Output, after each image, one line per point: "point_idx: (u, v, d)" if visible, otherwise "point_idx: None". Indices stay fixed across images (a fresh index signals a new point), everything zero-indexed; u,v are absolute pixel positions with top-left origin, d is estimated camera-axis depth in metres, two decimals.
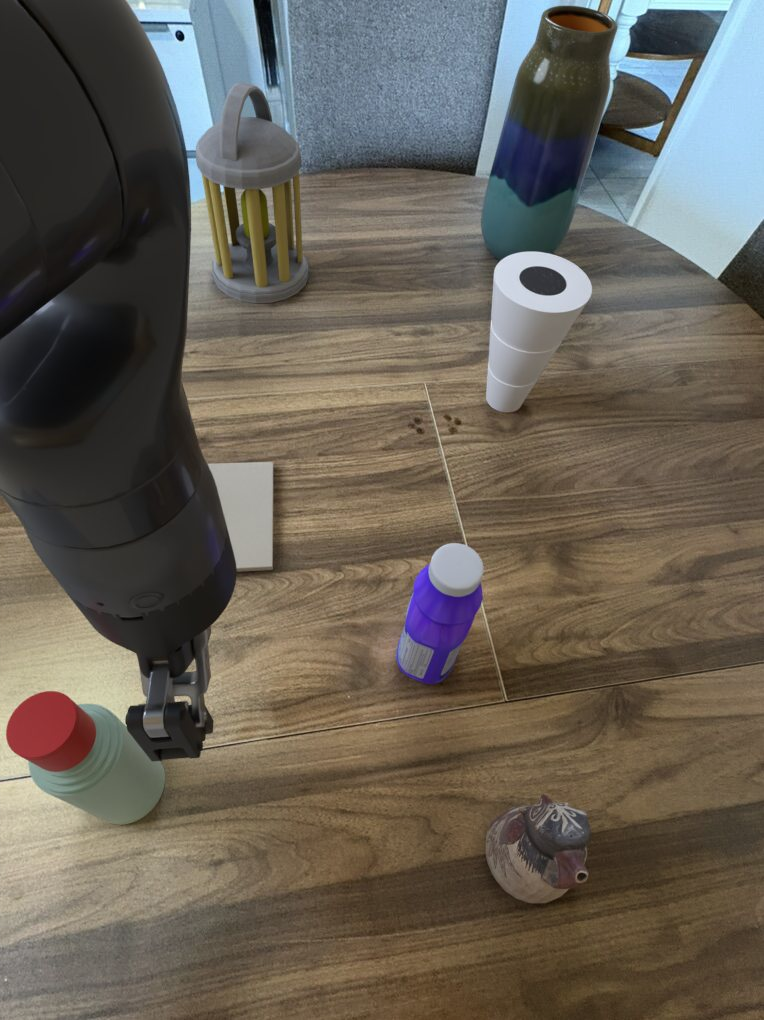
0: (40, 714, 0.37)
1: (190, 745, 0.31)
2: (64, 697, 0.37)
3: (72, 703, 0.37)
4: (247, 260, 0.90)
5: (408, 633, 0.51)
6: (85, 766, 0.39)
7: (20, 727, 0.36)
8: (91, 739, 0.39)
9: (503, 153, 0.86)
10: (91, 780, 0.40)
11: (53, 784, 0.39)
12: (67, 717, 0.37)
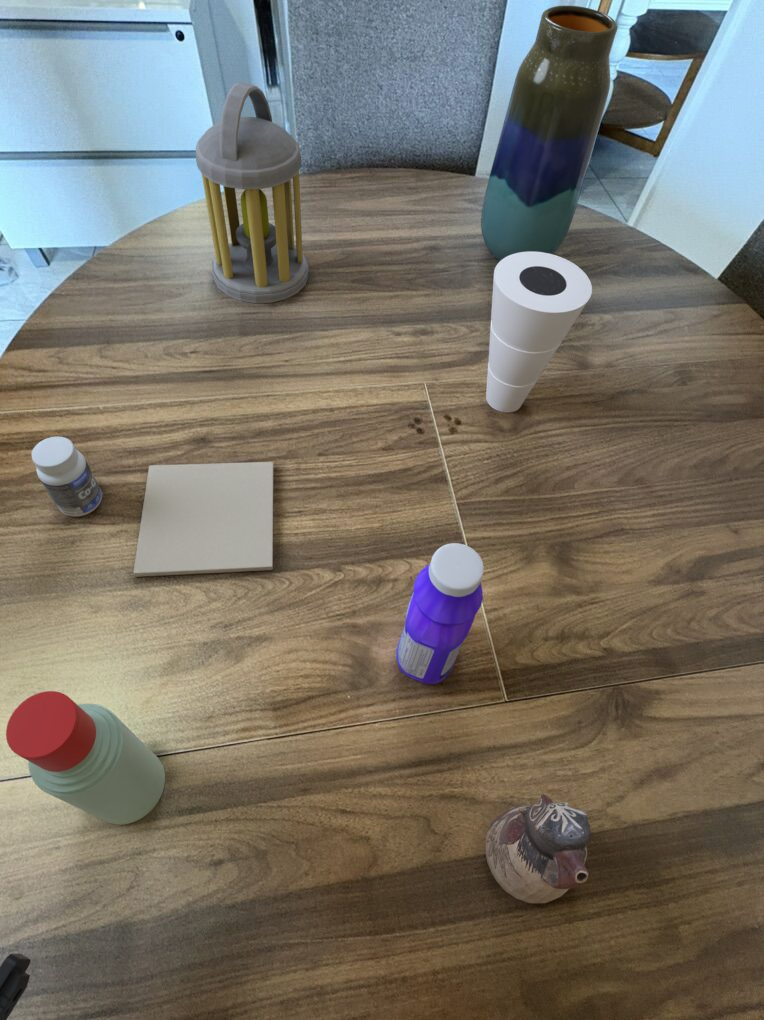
0: (40, 714, 0.37)
1: None
2: (64, 697, 0.37)
3: (72, 703, 0.37)
4: (247, 260, 0.90)
5: (408, 633, 0.51)
6: (85, 766, 0.39)
7: (20, 727, 0.36)
8: (91, 739, 0.39)
9: (503, 153, 0.85)
10: (91, 780, 0.40)
11: (53, 784, 0.39)
12: (67, 717, 0.37)
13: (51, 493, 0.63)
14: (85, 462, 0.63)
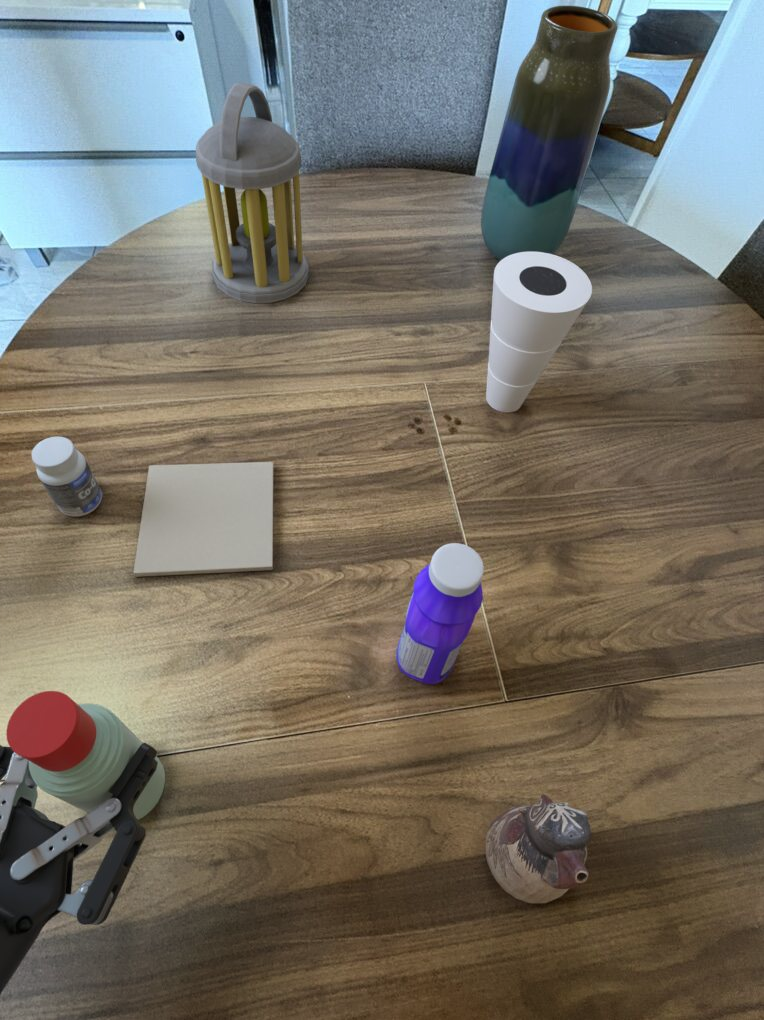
0: (40, 714, 0.37)
1: None
2: (64, 697, 0.37)
3: (72, 703, 0.37)
4: (247, 260, 0.90)
5: (408, 633, 0.51)
6: (86, 766, 0.39)
7: (20, 727, 0.36)
8: (92, 739, 0.39)
9: (503, 153, 0.85)
10: (92, 780, 0.40)
11: (53, 784, 0.39)
12: (67, 717, 0.37)
13: (51, 493, 0.63)
14: (85, 462, 0.63)
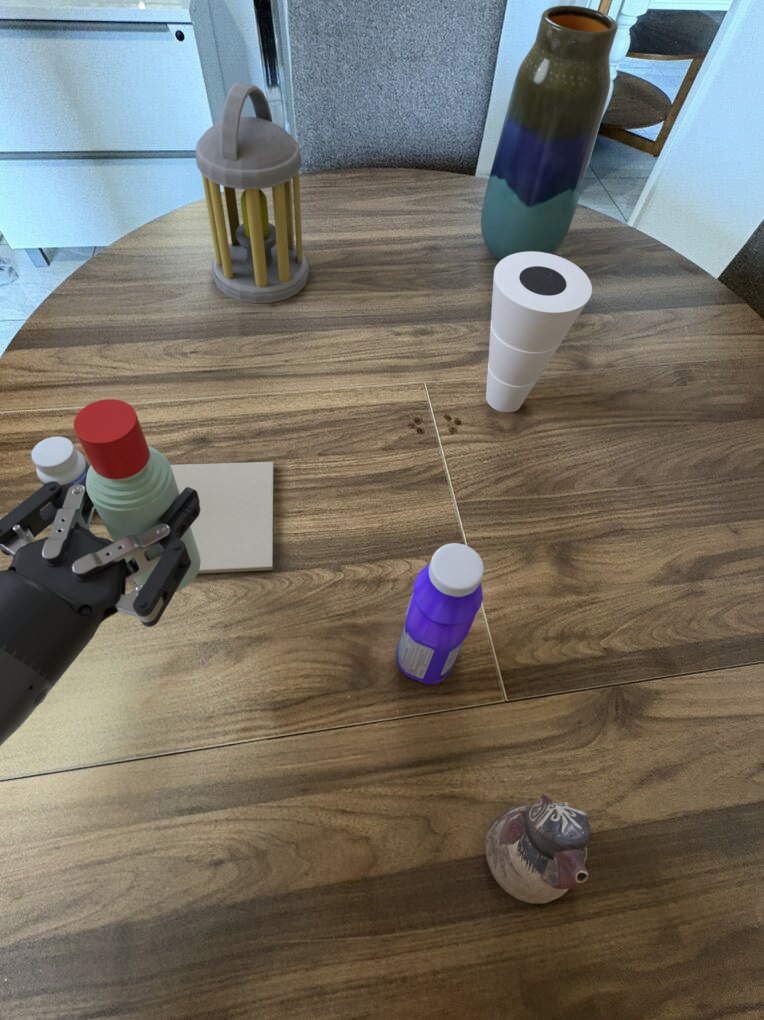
0: (103, 414, 0.40)
1: None
2: (124, 403, 0.41)
3: (132, 408, 0.41)
4: (247, 260, 0.90)
5: (408, 633, 0.51)
6: (140, 482, 0.43)
7: (86, 422, 0.40)
8: (146, 454, 0.43)
9: (503, 153, 0.85)
10: (145, 497, 0.43)
11: (110, 498, 0.43)
12: (128, 417, 0.40)
13: None
14: (85, 462, 0.63)
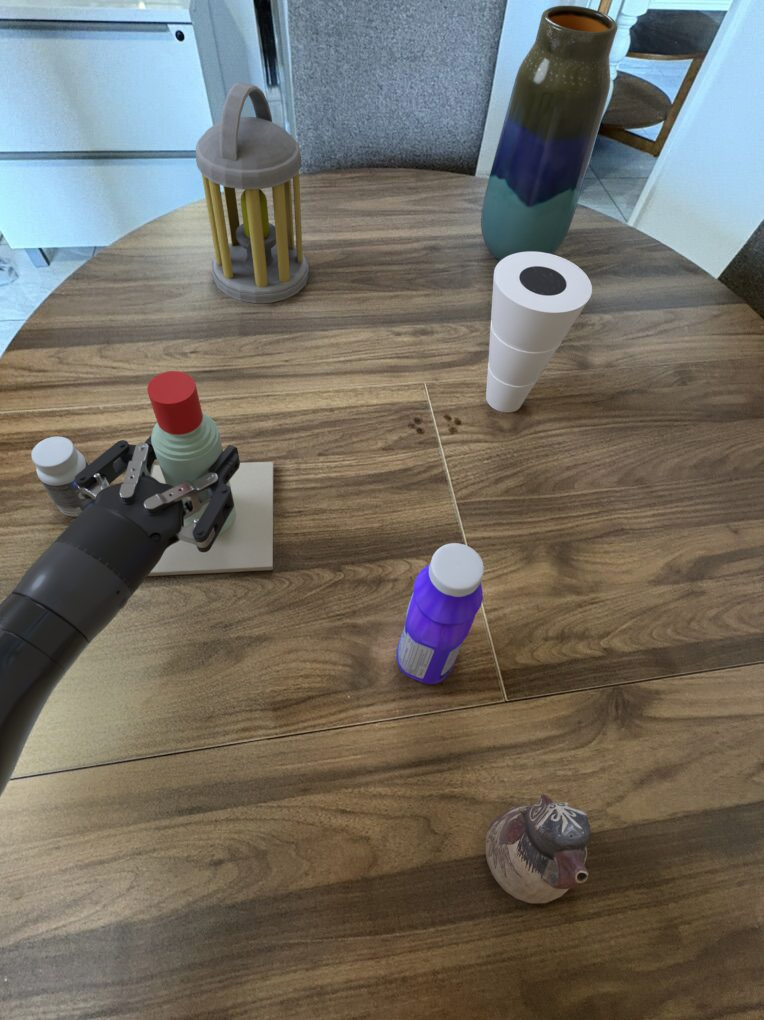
0: (170, 382, 0.51)
1: None
2: (185, 374, 0.52)
3: (191, 377, 0.52)
4: (247, 260, 0.90)
5: (408, 633, 0.51)
6: (195, 437, 0.54)
7: (157, 388, 0.51)
8: (201, 415, 0.54)
9: (503, 153, 0.85)
10: (199, 450, 0.55)
11: (172, 450, 0.54)
12: (189, 384, 0.51)
13: (51, 493, 0.63)
14: (85, 462, 0.63)
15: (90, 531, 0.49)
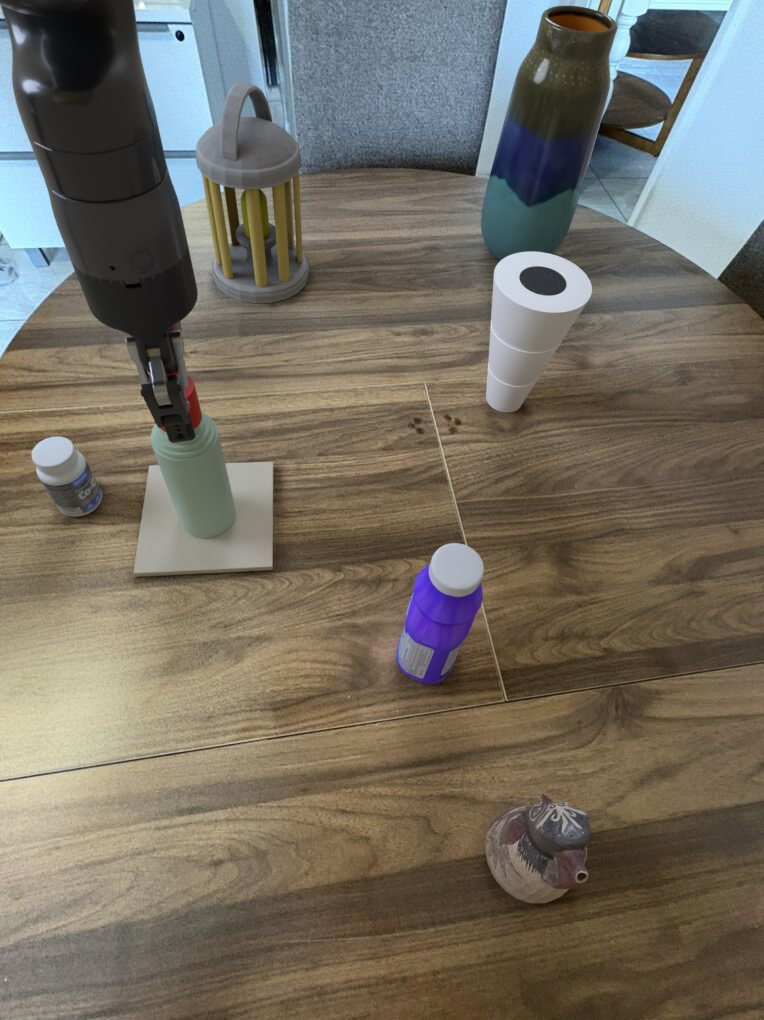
0: None
1: (185, 411, 0.46)
2: None
3: (190, 377, 0.52)
4: (247, 260, 0.90)
5: (408, 633, 0.51)
6: (195, 437, 0.54)
7: None
8: (200, 415, 0.54)
9: (503, 153, 0.85)
10: (198, 449, 0.55)
11: (171, 450, 0.54)
12: None
13: (51, 493, 0.63)
14: (85, 462, 0.63)
15: None
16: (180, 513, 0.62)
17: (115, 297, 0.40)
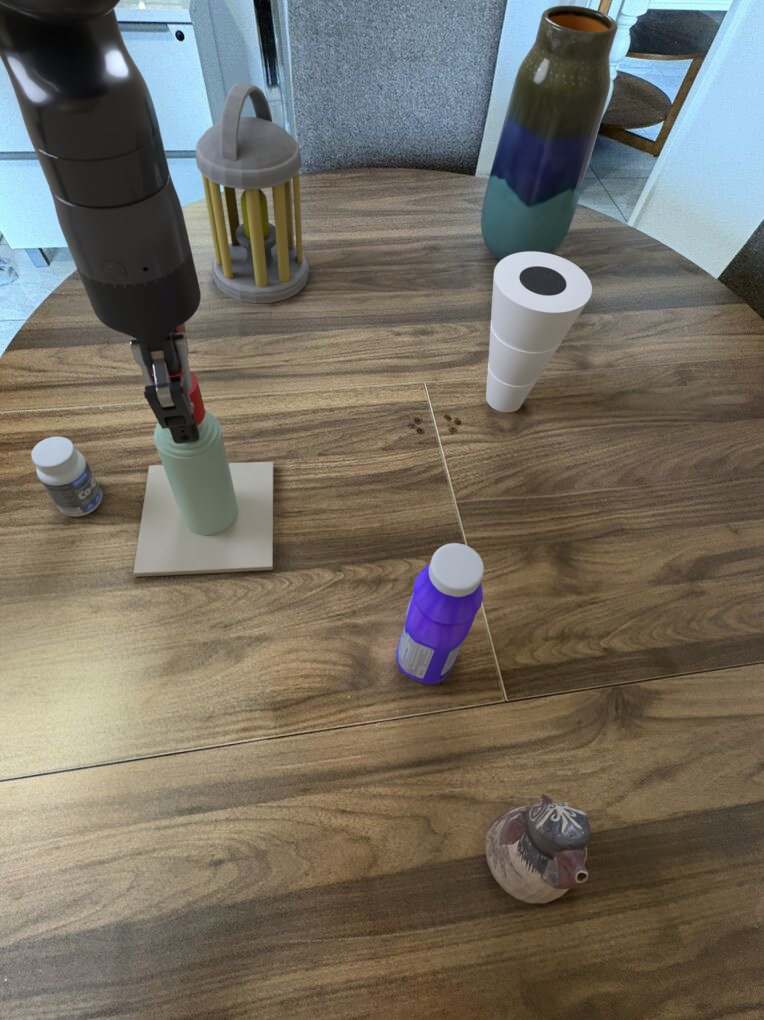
0: None
1: None
2: None
3: None
4: (247, 260, 0.90)
5: (408, 633, 0.51)
6: (199, 435, 0.54)
7: None
8: None
9: (503, 153, 0.85)
10: (203, 447, 0.55)
11: (176, 448, 0.54)
12: None
13: (51, 493, 0.63)
14: (85, 462, 0.63)
15: (194, 265, 0.43)
16: (184, 511, 0.62)
17: None
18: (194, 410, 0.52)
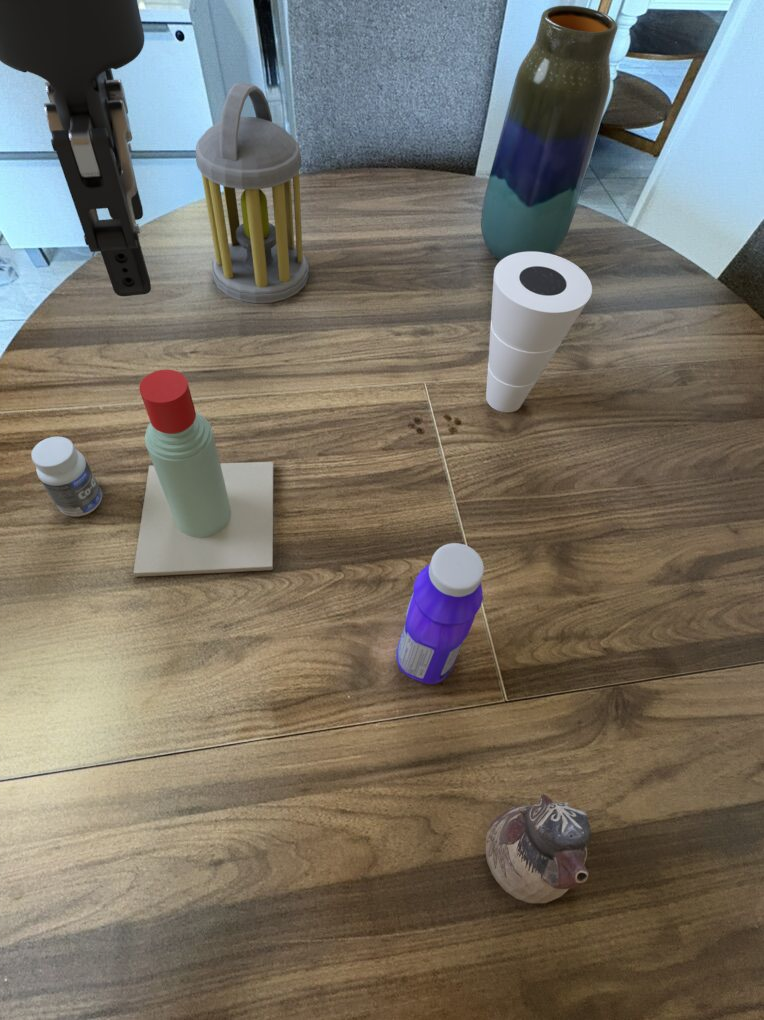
0: (164, 390, 0.51)
1: None
2: (148, 398, 0.50)
3: (142, 395, 0.50)
4: (247, 260, 0.90)
5: (408, 633, 0.51)
6: (190, 437, 0.54)
7: (178, 384, 0.51)
8: None
9: (503, 153, 0.85)
10: (194, 449, 0.55)
11: (167, 450, 0.54)
12: (145, 387, 0.51)
13: (51, 493, 0.63)
14: (85, 462, 0.63)
15: None
16: (176, 513, 0.62)
17: None
18: (184, 412, 0.52)
